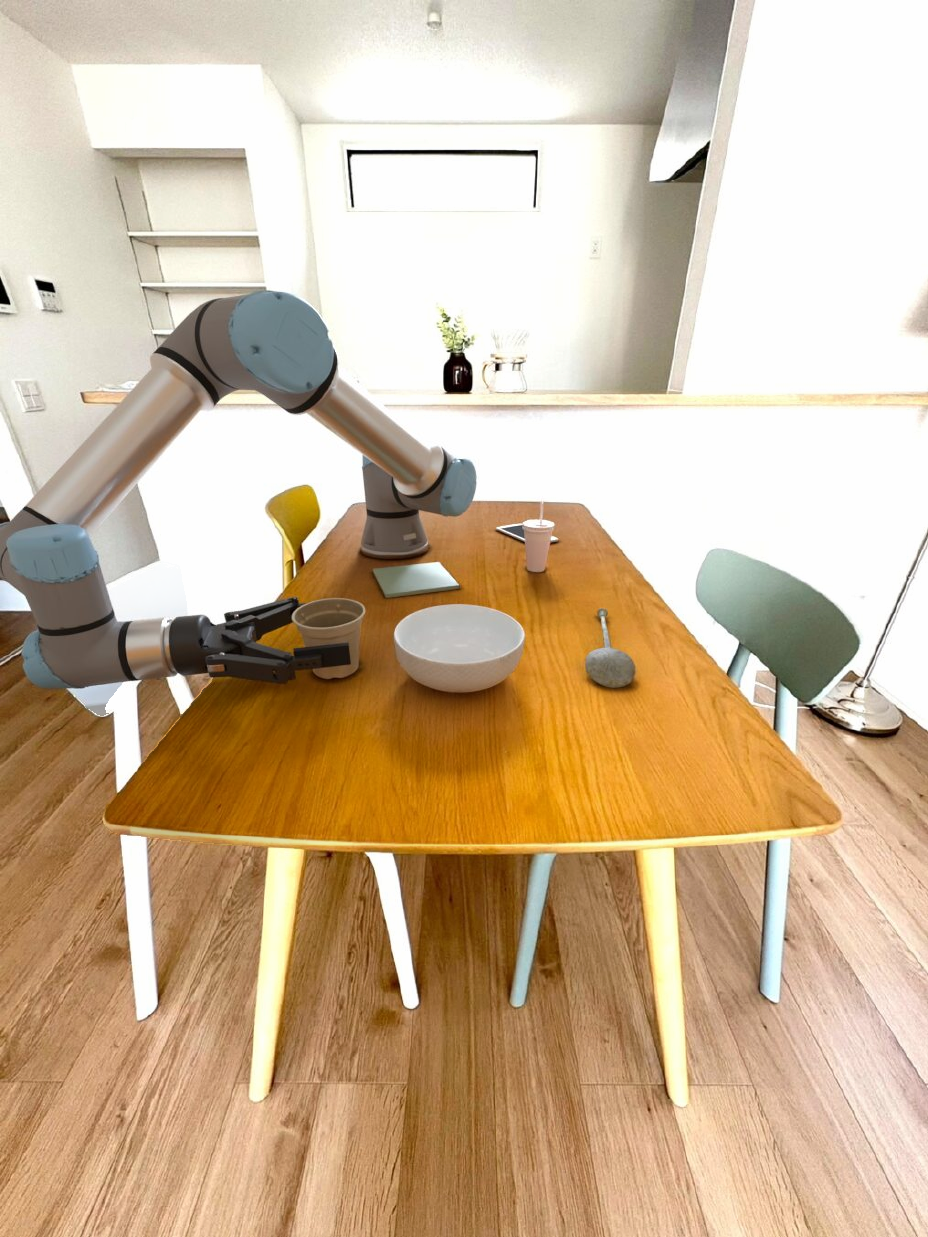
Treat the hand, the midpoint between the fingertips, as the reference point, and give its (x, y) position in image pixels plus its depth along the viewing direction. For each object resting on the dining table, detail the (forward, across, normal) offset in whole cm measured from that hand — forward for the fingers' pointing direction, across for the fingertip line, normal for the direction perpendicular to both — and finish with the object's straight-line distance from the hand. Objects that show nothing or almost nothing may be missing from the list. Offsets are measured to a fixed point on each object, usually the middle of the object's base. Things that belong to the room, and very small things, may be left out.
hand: (348, 629), depth 70 cm
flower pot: (-2, 0, -6) cm, 6 cm away
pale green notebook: (+13, -31, -6) cm, 34 cm away
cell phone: (+45, -55, -6) cm, 71 cm away
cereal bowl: (+14, +6, -6) cm, 16 cm away
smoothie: (+39, -32, -6) cm, 50 cm away
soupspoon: (+37, +3, -6) cm, 38 cm away
